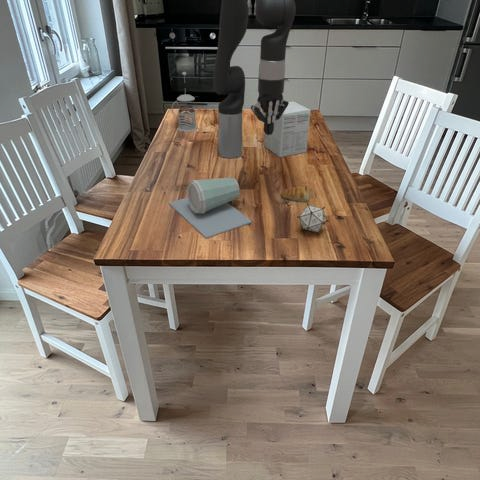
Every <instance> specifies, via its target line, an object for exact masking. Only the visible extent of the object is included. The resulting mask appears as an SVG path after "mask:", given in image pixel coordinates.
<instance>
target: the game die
mask: <svg viewBox="0 0 480 480" xmlns="http://www.w3.org/2000/svg"><path fill="white" fill-rule="evenodd" d="M306 205H307V206H306V207H305V208H304V210H303V211H302V212H301V214H300V215H298V216H296V218H297V219H299V221H300V224H301V227H302V228H301V231H304V230H306V231H310V232H313V233H316V234H317V235H318V236H320V233H319V232H320V230H321V229H322V228H323V226H324V225H325V224H326V223H327V222H329V219H327V217H326V214H325V211H324V210H325V208H326V207H325V206H323V207H318V206H313V205H309V202H306Z"/></svg>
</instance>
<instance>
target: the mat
mask: <svg viewBox="0 0 480 480" xmlns="http://www.w3.org/2000/svg"><path fill="white" fill-rule="evenodd" d="M168 205H170V206H171V208H173V209H174V210H175V212H177V213H178V214H180V216H181V217H182V218H184V220H186V221H187V222H188V223H189V224H190V225H191V226H192V228H194V229H195V230H196V231H197V232H198V233H199V234H200V235H201V236H202V237H203V238H204V239H209V238H212V237H215V236H218V235H220V234H223V233H227V232H229V231H232V230H235V229H238V228H240V227H243V226H246V225H249V224H252V223H253V220H251V219H250V218H249V217H247V216H246V215H245V214H243V213H242V211H240V210H238V209H237V208H236V207H234V206H233V205H231V204H230V203H229V202H227V203H224V204H222V205H220V206H217V207H215V208H213V209H210V210H208V211H206V212H205V213H201V214H199V213H194V212H193V211H192V210H191V208H190V205H189V202H188V196H187V197H185V198H181V199H177V200H173V201H170V202H168Z"/></svg>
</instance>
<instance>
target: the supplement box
mask: <svg viewBox="0 0 480 480" xmlns="http://www.w3.org/2000/svg"><path fill="white" fill-rule="evenodd" d="M287 102H288V103H289V104H288V106H287V108H286V109H285V111H284V112H283V114H282V116H281V117H280V119H279V120H278V119H277V120H276V121H275V122H274V131H273V133H272V134H271V135H267V134H265V133H264V147H265V148H266V149H268V150H270V152H272V153H274V154H275V155H276V156H278V157H279V158H283V157H288V156H294V155H299V154H303V153H307V148H308V140H309V139H308V138H309V133H310V132H309V131H310V120H311V112H312V110H311V109H310V108H307V107H305V106H304V105H301V104H299V103H297V102H295V101H287ZM278 113H279V112H278ZM277 115H278V114H277Z"/></svg>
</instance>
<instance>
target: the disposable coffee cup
mask: <svg viewBox="0 0 480 480" xmlns="http://www.w3.org/2000/svg"><path fill="white" fill-rule="evenodd" d="M240 191H241V190H240V185H239V183H238V181H237V180H236V178H234V177H224V178H223V177H221V178H207V179H205V178H204V179H194V180H191V181H189V183H188V185H187V192H186V193H187V197H188V202H189V205H190V208H191V210H192V211H193V212H194V213H199V214H201V213H205V212H206V211H208V210H210V209H213V208H215V207H217V206H220V205H222V204H224V203H227V202H228V203H229V202H231V201H233V200H235V199H237V198H238V197H239V196H240V193H241V192H240Z"/></svg>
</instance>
